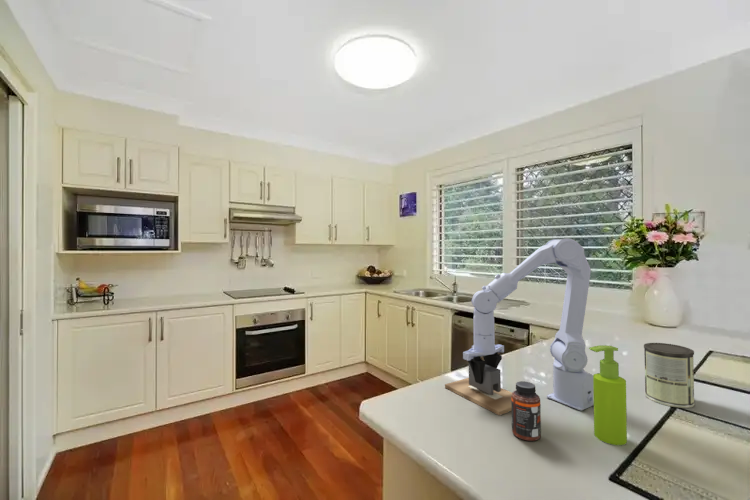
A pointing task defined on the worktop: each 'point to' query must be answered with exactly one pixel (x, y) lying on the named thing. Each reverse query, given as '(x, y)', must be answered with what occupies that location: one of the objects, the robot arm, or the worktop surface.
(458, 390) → the pin board
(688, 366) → the coffee can
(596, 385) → the soap dispenser
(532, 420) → the supplement bottle
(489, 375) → the block
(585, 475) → the worktop surface
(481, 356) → the robot arm
